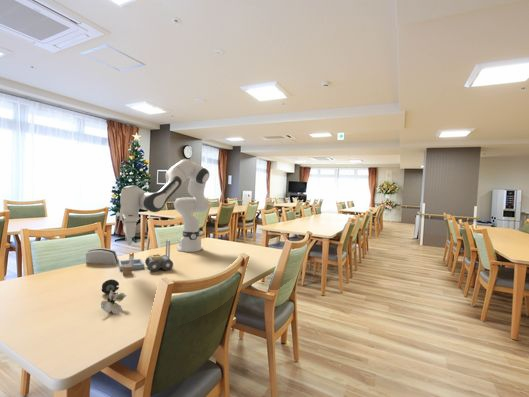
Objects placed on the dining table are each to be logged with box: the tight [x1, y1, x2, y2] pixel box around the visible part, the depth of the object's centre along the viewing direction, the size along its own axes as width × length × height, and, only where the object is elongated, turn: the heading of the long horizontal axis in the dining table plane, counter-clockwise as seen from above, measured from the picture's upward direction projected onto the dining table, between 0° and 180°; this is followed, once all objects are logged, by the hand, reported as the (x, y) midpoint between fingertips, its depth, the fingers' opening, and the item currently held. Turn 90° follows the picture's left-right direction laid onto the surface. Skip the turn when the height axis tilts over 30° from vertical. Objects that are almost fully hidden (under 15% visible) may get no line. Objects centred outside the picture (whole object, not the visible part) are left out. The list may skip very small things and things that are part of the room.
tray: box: [117, 258, 145, 272], centre depth 154 cm, size 12×12×2 cm
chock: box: [121, 264, 133, 277], centre depth 142 cm, size 5×4×4 cm
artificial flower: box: [100, 278, 127, 315], centre depth 107 cm, size 9×22×10 cm, turn 27°
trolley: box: [144, 238, 174, 273], centre depth 153 cm, size 13×12×16 cm
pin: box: [128, 252, 135, 265], centre depth 153 cm, size 2×2×7 cm
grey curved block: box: [85, 247, 120, 265], centre depth 158 cm, size 17×5×10 cm, turn 95°
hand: (128, 242), depth 141 cm, fingers open, 8 cm apart
